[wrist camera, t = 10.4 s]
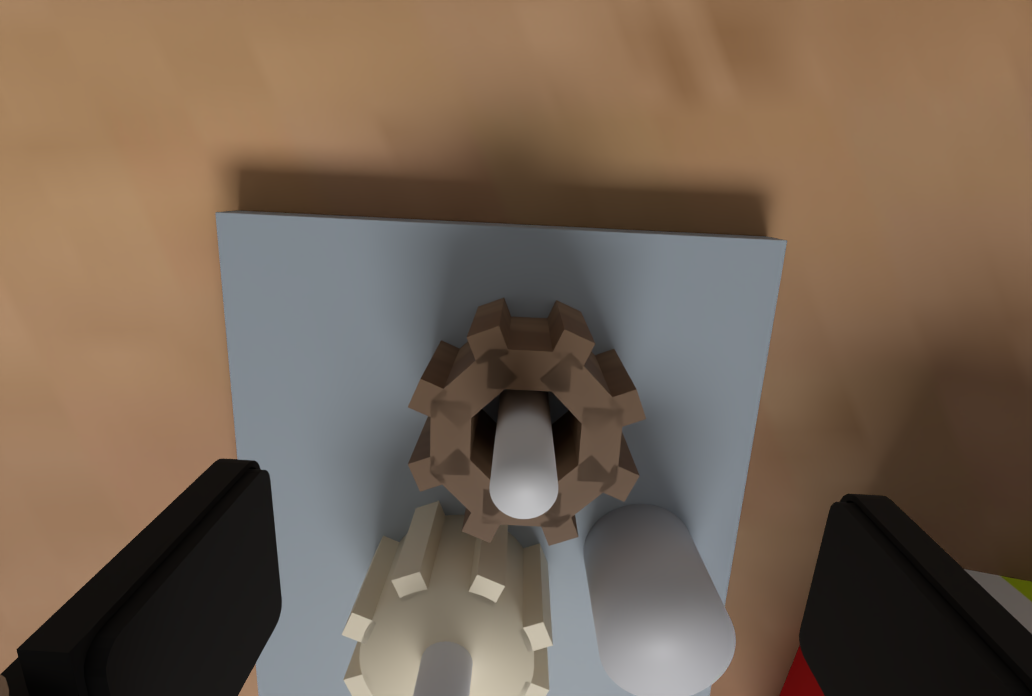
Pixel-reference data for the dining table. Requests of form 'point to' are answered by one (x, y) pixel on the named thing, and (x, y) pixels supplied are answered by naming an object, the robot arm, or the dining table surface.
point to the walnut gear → (538, 367)
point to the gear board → (378, 345)
